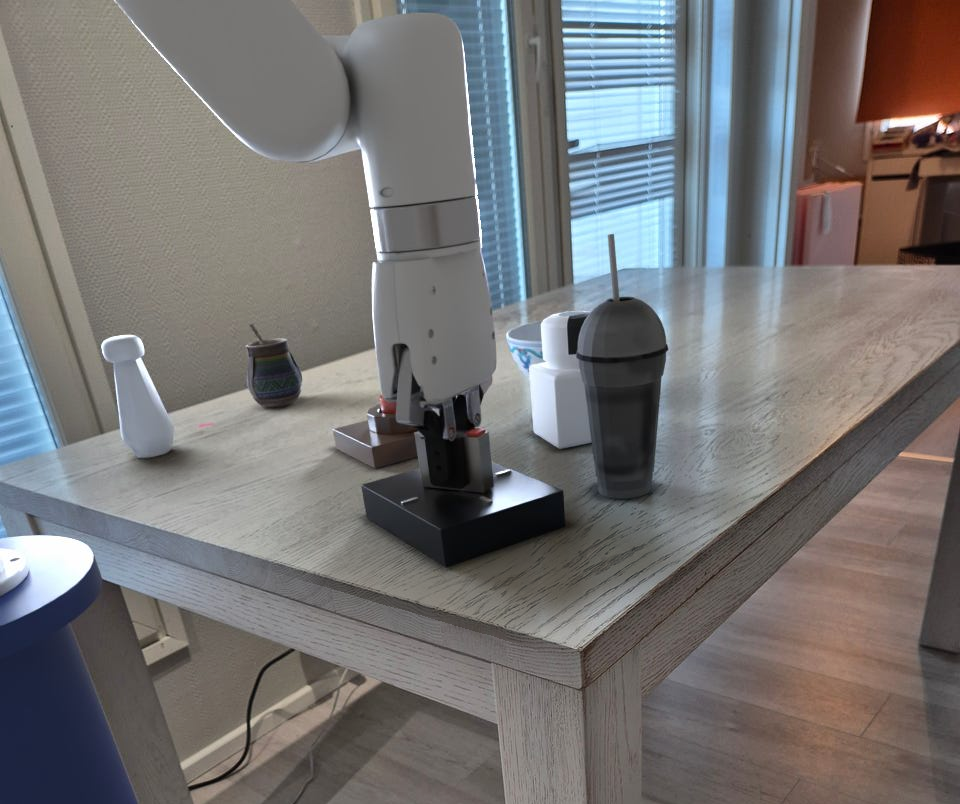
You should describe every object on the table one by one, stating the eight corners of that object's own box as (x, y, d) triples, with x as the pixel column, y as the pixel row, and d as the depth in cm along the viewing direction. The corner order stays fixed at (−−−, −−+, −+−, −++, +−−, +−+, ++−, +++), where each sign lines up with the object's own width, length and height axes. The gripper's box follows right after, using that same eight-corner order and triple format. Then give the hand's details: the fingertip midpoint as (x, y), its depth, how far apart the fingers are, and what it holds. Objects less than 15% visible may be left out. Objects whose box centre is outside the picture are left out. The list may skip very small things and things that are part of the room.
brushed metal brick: (421, 486, 71) (413, 429, 68) (432, 480, 72) (424, 424, 70) (484, 493, 68) (478, 434, 66) (494, 486, 69) (488, 428, 67)
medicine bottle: (594, 421, 93) (589, 304, 87) (623, 437, 87) (621, 312, 81) (532, 433, 91) (523, 314, 86) (558, 450, 85) (551, 323, 80)
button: (391, 419, 89) (389, 401, 88) (375, 412, 92) (372, 395, 91) (426, 410, 90) (423, 393, 89) (408, 404, 93) (406, 387, 92)
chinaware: (552, 376, 113) (548, 314, 110) (657, 382, 105) (657, 315, 101) (487, 406, 103) (480, 340, 99) (598, 415, 95) (595, 343, 91)
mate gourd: (272, 413, 112) (255, 332, 107) (240, 407, 116) (221, 330, 111) (316, 399, 116) (301, 321, 111) (283, 394, 121) (267, 319, 116)
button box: (375, 468, 86) (368, 429, 84) (336, 448, 94) (329, 412, 92) (476, 440, 91) (472, 402, 89) (431, 423, 99) (427, 388, 97)
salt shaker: (185, 450, 100) (152, 334, 93) (135, 463, 97) (98, 344, 91) (170, 441, 104) (138, 329, 98) (122, 453, 101) (86, 339, 95)
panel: (445, 567, 64) (440, 527, 62) (366, 517, 74) (360, 482, 73) (565, 526, 68) (563, 488, 67) (474, 485, 79) (471, 451, 77)
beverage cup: (610, 511, 70) (601, 242, 60) (567, 487, 76) (553, 239, 66) (685, 491, 72) (688, 228, 62) (637, 469, 78) (634, 226, 68)
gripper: (443, 221, 68) (468, 448, 77) (314, 249, 57) (361, 511, 66) (526, 215, 65) (543, 454, 73) (406, 243, 53) (442, 522, 62)
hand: (457, 479), depth 70 cm, fingers closed on brushed metal brick
